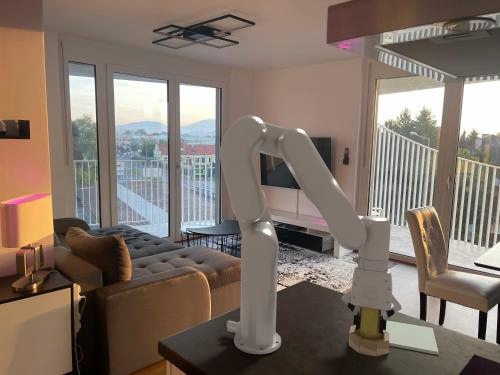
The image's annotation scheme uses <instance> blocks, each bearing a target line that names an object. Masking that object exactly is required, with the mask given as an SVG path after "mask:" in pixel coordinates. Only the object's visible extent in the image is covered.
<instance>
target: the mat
mask: <svg viewBox="0 0 500 375" xmlns="http://www.w3.org/2000/svg"><path fill="white" fill-rule="evenodd" d="M385 331H387V332H389V347H394V348H395V347H396V348H399V349H405V350H411V351H416V352H421V353H427V354H432V355H436V356H437V355H438V356H439V353H440V352H439V349H438V344H437V341H436V336H435V333H434V328H433V327H429V326H422V325H416V324H409V323H406V322H405V323H403V322H400V321H398V322H397V321H392V320H387V323H386V330H385Z"/></svg>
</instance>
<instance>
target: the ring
mask: <svg viewBox="0 0 500 375" xmlns="http://www.w3.org/2000/svg"><path fill="white" fill-rule="evenodd" d="M348 333H349V334H348V336H349V337H348V346H349V347H350V348H352V349H353V350H354V351H356V352H357V353H358V354H361V355H367V356H372V357H380V356H383V355H387V354H389V351H390V350H389V348H390V346H389V332H387V331H385V330H383V334H380V340H376V341H374V340H368V339H363V338H361V337H359V336H358V330H356V325H351V326H350V328H349V332H348Z"/></svg>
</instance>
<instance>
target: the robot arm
mask: <svg viewBox="0 0 500 375" xmlns="http://www.w3.org/2000/svg"><path fill="white" fill-rule="evenodd" d="M219 148H220V149H219V160H220V166H221V169H222V174H223V178H224V182H225V186H226V189H227V193H228V197H229V201H230V206H231V211H232V213H233V215H234V216H235V218H236V219H237V221H238V222H237V223H238V226H239V229H240V232H241V245H240V307H239V308H240V311H239V312H240V314H239V315H240V319H239V321H238V322H237V321H234V320H227V322H226V330H227V332H230V333H234V334H235V335H234V338H233V342H234V343H233V344H234V346H235V347H236V348H237V349H238V350H240V351H242V352H243V353H247V354H252V355H266V354H271V353H273V352H276V351H277V350H279V348H280V347H281V345H282V338H281V336H280V334H278V332H276V330H277V328H276V325H277V298H278V297H277V296H278V295H277V293H278V292H277V290H278V286H277V285H278V267H279V266H278V265H279V264H278V263H279V250H280V248H279V247H280V246H279V240H278V236H277V232H276V229H275V225H274V223H273V219H272V216H271V210H270V208H269V205H268V201H267V198H266V194H265V191H264V190H263V189H262V187H261V183H260V180H259V176H258V171H257V167H256V163H255V152H256V153H261V154H263V155H267V156H270V157H271V156H272V157H274V158H279V159H282V160H283V162H284V163H285V165H286V166H287V168H288V169H289V171H290V173H291V175H292V177H293V179H295V181H296V183H297V184H298V186H299V187H300V189H301V191H302V193H303V194H304V195H305V196H306V198H307V200H309V201H310V203H311V204H312V205H313V206H314V207H315V209H316V210H317V211H318V213H319V214H320V215H321V217H322V219H323V220H324V222H325V223H326V225H327V226H328V227H327V228H328V233H329V234H330V236H331V238H333V239H334V240H335V241H336V242H337V244H338V245H339V246H340V247H341V248H343V249H346V250H348V251H355V250H358V255H357V256H353V257H352V263H356V264H357V265H355V267H354V269H353V274H352V281H351V289H350V290H347V292H346V293H345V294H343V295H342V296H341V301H342V302H343V304H345V306H346V307H347V308H348V309H349V310H350V311H351V312H352V315H353V325H352V326H354V325H356V330H358V329H359V318H360V307H364V308H371V309H377V310H381V327H380V334H383V330H386V323H387V321H389V320H388V319H389V318H391V317H392V316H393V315H395V314H396V313H398V312H399V311H401V310H402V309H403V308H402V305H401V304H400V302H399V301H398V300H397V299H396V297H395V296H394V295H393V277H392V276H393V275H392V271H391V269H389V261H390V260H389V259H390V245H391V244H390V242H391V228H392V227H391V220H389V218H387V217H384V216H380V215H367V216H362V215H359V214H358V213H357V211H356V209H355V207H354V206H353V204H352V203H351V201H350V200H349V198H348V197H347V196H346V194H345V193H344V191H343V190H342V188H341V186H340V185H339V184H338V183H339V182H338V181H337V180H336V179H335V178H334V176H333V174H332V173H331V171H330V170H329V168H328V166H327V165H326V163H325V161H324V160H323V158H322V156H321V155H320V153H319V151H318V150H317V148H316V146H315V145H314V143H313V141H312V139H311V138H310V136H309V135H308V134H307V132H305V130H303V129H301V128H298V127H291V128H287V127H282V126H278V125H275V124H272V123H269V122H264V120H262V119H261V118H260V117H258V116H256V115H252V114H248V115H247V114H245V115H244V116H241V117H239V118H238V119H236V121H234V122H233V123H232V124H231V125H230V126H229V127H228V129H227V130H226V131H225V133H224V135H223V137H222V140H221V143H220V147H219ZM392 305H393V306H392Z"/></svg>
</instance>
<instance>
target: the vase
mask: <svg viewBox="0 0 500 375" xmlns="http://www.w3.org/2000/svg"><path fill="white" fill-rule="evenodd" d="M359 312H360V318H359V329H358V336H359V337H361V338H363V339H368V340H374V341H376V340H380V327H381V316H382V313H381V310H377V309H371V308H364V307H360V309H359Z"/></svg>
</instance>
